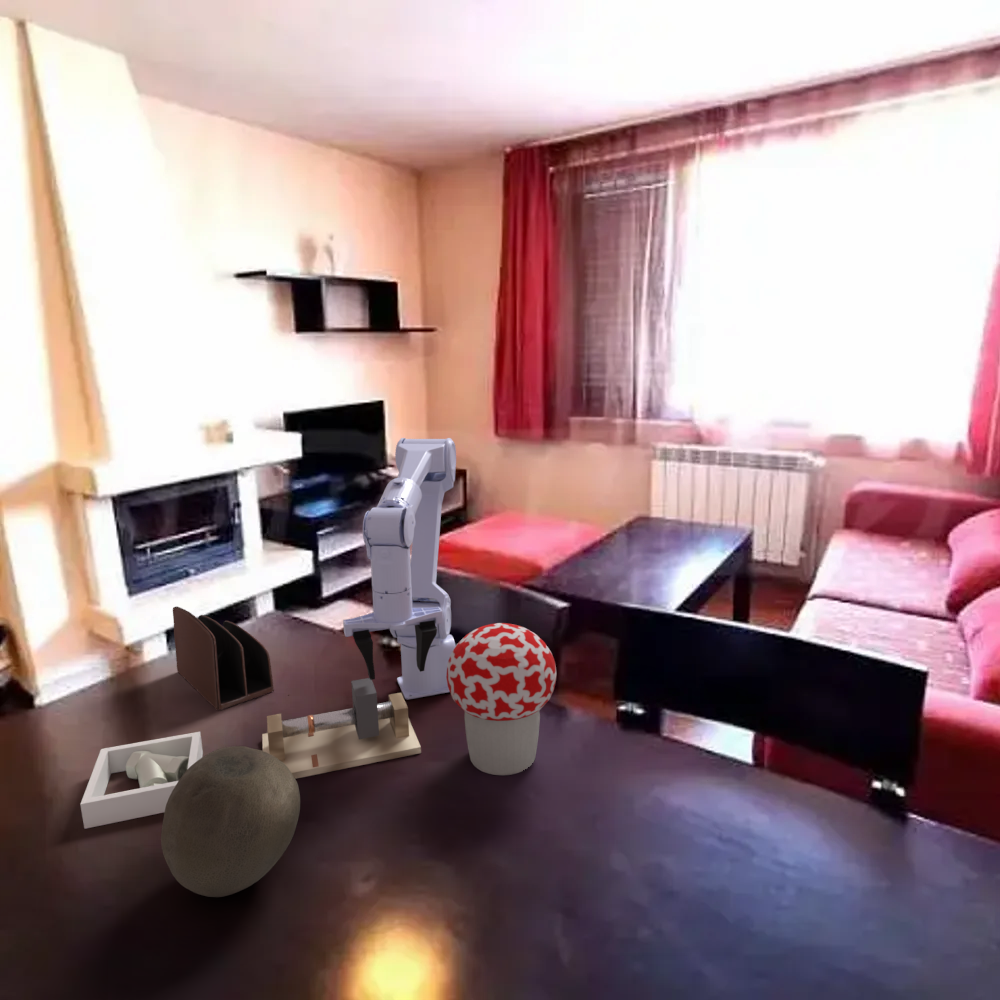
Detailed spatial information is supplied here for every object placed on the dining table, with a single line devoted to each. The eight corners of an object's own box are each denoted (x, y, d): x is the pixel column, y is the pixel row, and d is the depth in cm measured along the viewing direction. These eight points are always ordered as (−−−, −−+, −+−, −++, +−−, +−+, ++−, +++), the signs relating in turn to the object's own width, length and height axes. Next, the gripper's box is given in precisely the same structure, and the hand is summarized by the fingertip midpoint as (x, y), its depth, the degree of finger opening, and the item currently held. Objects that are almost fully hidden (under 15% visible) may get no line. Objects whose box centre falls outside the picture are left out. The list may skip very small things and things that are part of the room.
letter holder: (217, 712, 116) (208, 633, 113) (177, 673, 130) (168, 601, 127) (274, 692, 122) (268, 616, 119) (230, 656, 137) (222, 588, 134)
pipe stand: (404, 713, 114) (403, 681, 113) (421, 752, 103) (419, 717, 102) (262, 739, 107) (259, 705, 106) (264, 785, 96) (260, 747, 95)
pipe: (403, 710, 109) (402, 695, 108) (406, 718, 106) (406, 703, 106) (268, 735, 102) (267, 719, 102) (268, 744, 100) (267, 728, 99)
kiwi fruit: (225, 949, 70) (210, 817, 67) (143, 893, 77) (125, 772, 74) (329, 862, 81) (320, 746, 78) (249, 820, 89) (237, 713, 86)
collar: (373, 718, 109) (371, 677, 107) (379, 735, 104) (376, 693, 102) (354, 721, 108) (351, 680, 106) (358, 739, 103) (356, 696, 101)
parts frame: (202, 752, 104) (200, 731, 103) (196, 805, 92) (193, 781, 91) (104, 770, 100) (101, 749, 99) (84, 828, 88) (80, 804, 87)
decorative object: (497, 804, 91) (494, 663, 87) (427, 754, 103) (422, 626, 98) (578, 758, 101) (580, 628, 97) (506, 716, 113) (505, 599, 108)
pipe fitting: (162, 808, 93) (194, 774, 99) (157, 783, 91) (189, 751, 98) (111, 800, 94) (145, 767, 101) (105, 776, 93) (140, 744, 100)
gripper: (345, 602, 97) (351, 692, 100) (446, 589, 101) (449, 676, 104) (339, 586, 103) (345, 671, 106) (435, 575, 108) (438, 656, 111)
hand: (396, 672), depth 106 cm, fingers open, 7 cm apart
